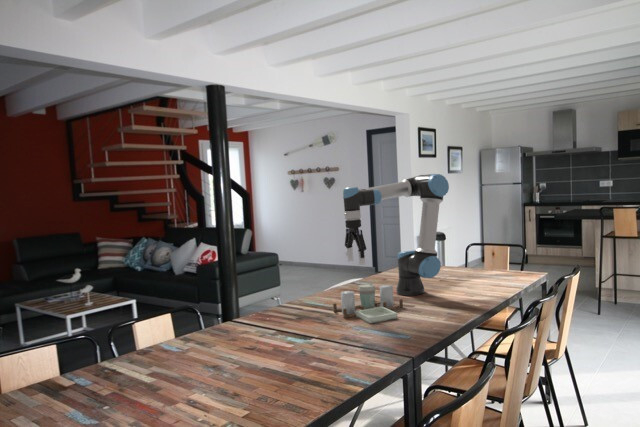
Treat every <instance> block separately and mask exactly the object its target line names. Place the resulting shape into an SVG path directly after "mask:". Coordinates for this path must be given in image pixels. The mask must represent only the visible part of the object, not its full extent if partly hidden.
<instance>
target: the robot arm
mask: <svg viewBox="0 0 640 427" xmlns="http://www.w3.org/2000/svg"><path fill="white" fill-rule="evenodd" d="M449 190H450V184H449V182H448V180H447V178H446V176H444V175H443V174H440V173H431V174H429V173H428V174H420V175H417V176H413V177H409V178H406V179H402V181H400V182H398V181H397V182H394V183H388V184H383V185H378V186H371V187H366V188H362V189H359V186H358V187H356V186H354V187H344V188H343V190H342V194H343V195H342V196H343V197H342V198H343V207H344V208H343V209H344V214H343V215H344V219H345V221H344V222H345V240H344V247H346V248H345V249H346V254H347V262H354V252H353V251H354V250H353V249H354V248H353V243H354V241H355V243H356V246H357V249H358V264H359V266H363V265H366V258H365V257H366V256H365V251H366V250H367V245H366V243H365V238H364V235H363V230H362V229H360V228H361V227H362V219H361V217H362V215H361V214H362V213H361V207H364V206H375V205H379V204H381V202H382V201H383V200H388V199H393V198H398V197H399V198H400V197H406V198H408V197H420V198H419V199H420V200H421V202H422V207H421V217H420V226H419V233H418V234H419V236H418V243H417V244H418V245H417V248H416V249H414V250H413V249H411V250H405V251H400V252H398V253H397V265H398V267H397V270H398V282H397V285H396V294H397V295H399V296H418V295H422V294H424V293H425V287H424V284H423V281H422V278H423V279H433V278H434V277H436V276H437V275H438V274H439V273H440V270H441V266H442V264H441V261H440V259H439V258H438V252H437V250H436V240H437V232H438V231H437V230H438V222H439V214H440V213H439V212H440V211H439V210H440V205H441V203H442V202H443V201H444V196H446V195H447V194H448V192H449Z"/></svg>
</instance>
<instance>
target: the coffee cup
mask: <svg viewBox="0 0 640 427" xmlns="http://www.w3.org/2000/svg"><path fill="white" fill-rule="evenodd" d="M357 288H358V293H359V294H358V295H359V299H360V305H362V306H364V309H370V308H375V305H374V304H375V303H376V290H377V289H376V285H375V284H374V283H363V284H359V286H358V287H357Z"/></svg>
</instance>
